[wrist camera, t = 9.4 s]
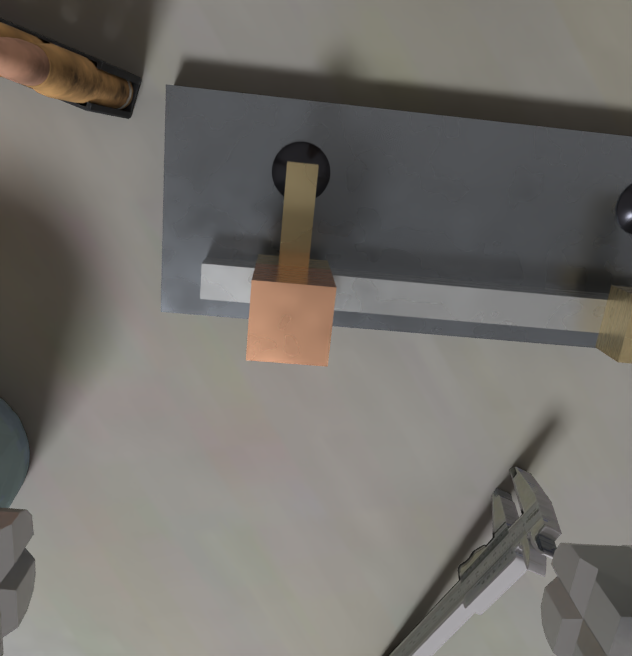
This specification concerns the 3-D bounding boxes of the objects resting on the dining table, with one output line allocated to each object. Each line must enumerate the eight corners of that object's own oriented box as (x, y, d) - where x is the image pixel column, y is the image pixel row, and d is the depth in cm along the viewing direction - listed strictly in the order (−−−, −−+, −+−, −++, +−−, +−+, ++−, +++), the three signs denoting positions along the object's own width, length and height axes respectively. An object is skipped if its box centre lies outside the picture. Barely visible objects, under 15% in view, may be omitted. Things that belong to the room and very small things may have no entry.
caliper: (511, 459, 33) (559, 529, 27) (527, 467, 33) (578, 538, 27) (341, 709, 38) (350, 814, 32) (356, 714, 38) (367, 820, 32)
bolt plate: (721, 148, 28) (811, 150, 23) (664, 345, 31) (732, 382, 26) (172, 87, 26) (146, 75, 21) (167, 303, 29) (143, 334, 24)
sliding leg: (335, 164, 25) (349, 170, 19) (318, 317, 28) (327, 366, 22) (266, 157, 25) (259, 161, 19) (255, 312, 27) (246, 360, 21)
